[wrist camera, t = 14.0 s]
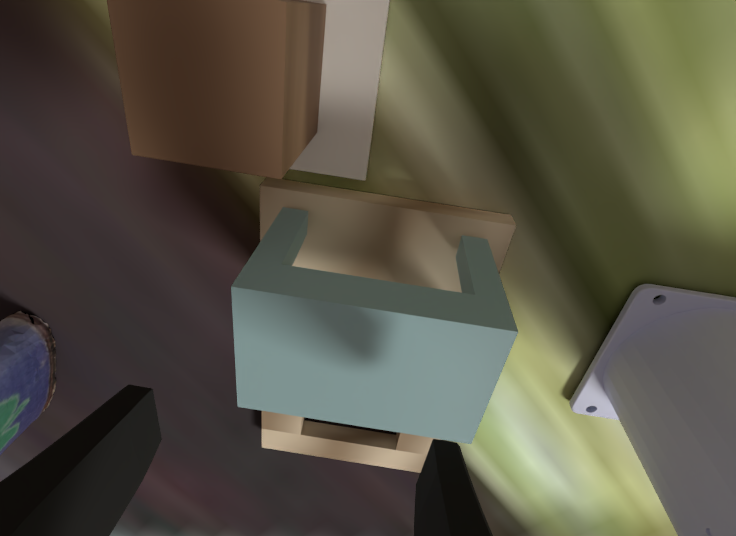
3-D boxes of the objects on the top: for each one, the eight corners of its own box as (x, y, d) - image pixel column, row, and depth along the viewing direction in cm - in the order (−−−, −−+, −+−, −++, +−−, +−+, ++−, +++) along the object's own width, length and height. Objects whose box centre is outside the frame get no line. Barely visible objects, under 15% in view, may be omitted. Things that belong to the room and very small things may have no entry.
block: (326, 4, 13) (286, 1, 9) (317, 132, 15) (281, 179, 11) (201, -17, 13) (102, -29, 9) (209, 114, 15) (132, 154, 11)
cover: (487, 238, 16) (518, 332, 12) (456, 336, 19) (470, 444, 14) (282, 207, 16) (231, 286, 12) (280, 308, 19) (237, 406, 14)
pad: (401, -83, 12) (400, -87, 12) (366, 175, 17) (365, 180, 16) (134, -124, 12) (122, -130, 12) (168, 144, 17) (160, 148, 16)
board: (511, 214, 17) (516, 225, 16) (427, 458, 26) (428, 474, 25) (267, 176, 17) (259, 185, 16) (266, 432, 26) (261, 447, 25)
